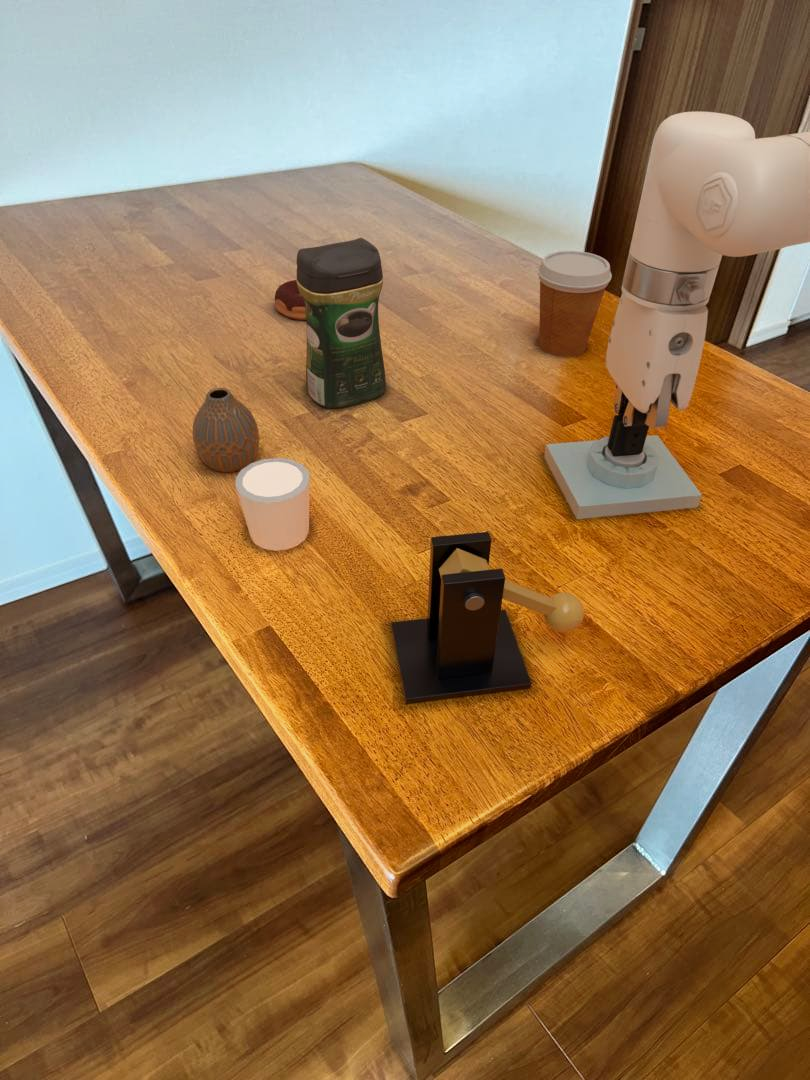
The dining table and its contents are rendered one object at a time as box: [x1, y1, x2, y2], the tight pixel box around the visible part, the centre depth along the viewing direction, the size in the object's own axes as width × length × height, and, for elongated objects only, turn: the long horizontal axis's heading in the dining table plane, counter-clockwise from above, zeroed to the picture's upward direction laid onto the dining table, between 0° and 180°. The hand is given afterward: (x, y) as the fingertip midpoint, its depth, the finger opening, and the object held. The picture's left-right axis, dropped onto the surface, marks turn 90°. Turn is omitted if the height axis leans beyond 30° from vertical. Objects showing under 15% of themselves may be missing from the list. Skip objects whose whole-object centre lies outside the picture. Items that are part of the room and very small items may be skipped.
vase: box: [192, 387, 260, 473], centre depth 78 cm, size 7×7×9 cm
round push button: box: [604, 447, 645, 468], centre depth 76 cm, size 4×4×2 cm
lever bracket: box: [390, 531, 532, 705], centre depth 56 cm, size 10×8×12 cm
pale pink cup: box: [235, 457, 311, 552], centre depth 70 cm, size 7×7×7 cm
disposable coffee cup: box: [537, 250, 613, 357], centre depth 98 cm, size 10×10×12 cm
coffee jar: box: [295, 237, 387, 410], centre depth 86 cm, size 10×8×19 cm
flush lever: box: [439, 548, 585, 634], centre depth 56 cm, size 13×3×3 cm
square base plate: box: [543, 434, 703, 520], centre depth 77 cm, size 13×11×4 cm
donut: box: [274, 279, 306, 321], centre depth 109 cm, size 10×10×4 cm
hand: (624, 450), depth 76 cm, fingers closed
